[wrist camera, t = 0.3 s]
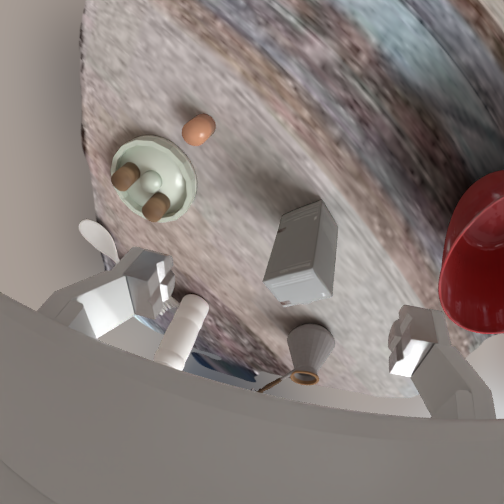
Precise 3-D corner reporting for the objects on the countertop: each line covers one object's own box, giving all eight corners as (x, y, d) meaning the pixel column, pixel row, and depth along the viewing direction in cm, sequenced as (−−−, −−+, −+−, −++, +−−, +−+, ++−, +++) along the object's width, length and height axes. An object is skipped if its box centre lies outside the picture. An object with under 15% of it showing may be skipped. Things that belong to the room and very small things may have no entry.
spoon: (165, 307, 84) (160, 317, 81) (79, 224, 71) (71, 232, 69) (185, 299, 78) (180, 309, 76) (92, 207, 66) (83, 216, 63)
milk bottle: (199, 314, 82) (162, 398, 63) (178, 298, 79) (136, 382, 61) (215, 306, 77) (177, 396, 59) (193, 288, 75) (149, 378, 57)
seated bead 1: (121, 161, 55) (109, 171, 52) (139, 162, 54) (127, 173, 51) (124, 179, 57) (113, 190, 54) (141, 181, 57) (130, 192, 54)
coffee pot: (319, 312, 69) (309, 370, 59) (344, 338, 74) (338, 393, 63) (251, 335, 82) (235, 385, 71) (278, 357, 86) (266, 404, 75)
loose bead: (192, 112, 47) (181, 120, 44) (215, 114, 46) (206, 122, 43) (192, 135, 49) (182, 144, 46) (215, 137, 49) (206, 147, 46)
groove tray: (112, 133, 52) (104, 138, 50) (195, 138, 49) (189, 144, 48) (125, 207, 63) (119, 214, 62) (199, 221, 61) (194, 229, 59)
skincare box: (322, 197, 51) (313, 262, 39) (340, 230, 54) (335, 299, 43) (279, 215, 55) (257, 279, 44) (298, 244, 59) (283, 311, 47)
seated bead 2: (150, 191, 58) (140, 202, 55) (169, 193, 57) (159, 205, 54) (153, 208, 60) (143, 220, 57) (171, 211, 60) (162, 223, 57)
